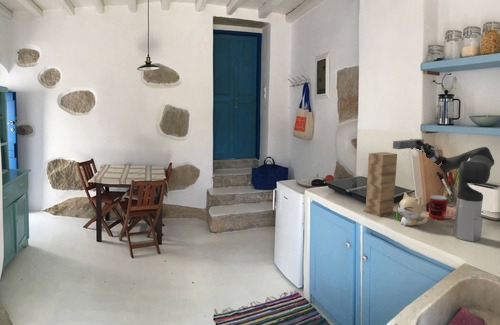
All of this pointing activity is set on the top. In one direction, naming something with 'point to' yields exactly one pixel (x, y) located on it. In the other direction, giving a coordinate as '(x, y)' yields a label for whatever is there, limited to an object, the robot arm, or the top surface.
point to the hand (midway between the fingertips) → (414, 140)
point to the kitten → (410, 210)
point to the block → (406, 144)
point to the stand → (381, 183)
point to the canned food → (437, 207)
